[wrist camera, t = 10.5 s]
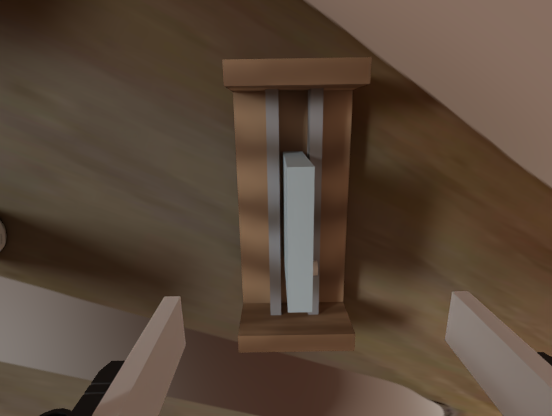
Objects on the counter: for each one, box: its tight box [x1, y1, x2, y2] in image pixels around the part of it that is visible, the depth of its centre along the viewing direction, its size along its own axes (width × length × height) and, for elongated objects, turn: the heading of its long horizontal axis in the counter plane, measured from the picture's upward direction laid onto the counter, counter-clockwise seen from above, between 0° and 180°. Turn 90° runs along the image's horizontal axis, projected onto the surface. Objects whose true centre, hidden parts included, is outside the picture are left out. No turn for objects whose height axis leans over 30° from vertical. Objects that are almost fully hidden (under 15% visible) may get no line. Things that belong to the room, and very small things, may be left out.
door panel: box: [283, 151, 318, 313], centre depth 30 cm, size 12×3×11 cm, turn 1°
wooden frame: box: [223, 57, 372, 352], centre depth 33 cm, size 28×12×8 cm, turn 1°
